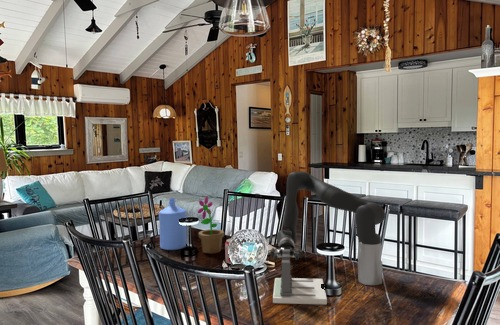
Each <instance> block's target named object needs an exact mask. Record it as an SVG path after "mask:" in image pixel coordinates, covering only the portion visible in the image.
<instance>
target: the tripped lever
mask: <svg viewBox="0 0 500 325" xmlns="http://www.w3.org/2000/svg"><path fill="white" fill-rule="evenodd" d="M282 254H290V249H283V250H282ZM280 278H281V281H282V274H281V276H280ZM292 278H293V276H292V275H291V274H290V281H292Z"/></svg>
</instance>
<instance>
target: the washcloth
mask: <svg viewBox="0 0 500 325" xmlns="http://www.w3.org/2000/svg"><path fill="white" fill-rule="evenodd" d="M267 245H268V255H267V256H269V255H270V256H271V249H272V248H274V249H275V250H278V248H277V247H274V246H272V244H267Z"/></svg>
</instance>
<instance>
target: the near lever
mask: <svg viewBox="0 0 500 325" xmlns="http://www.w3.org/2000/svg"><path fill="white" fill-rule="evenodd" d="M281 275H282V289H281V290H280V295H283V296H292V289H290V275H291V259H290V260H282V259H281Z"/></svg>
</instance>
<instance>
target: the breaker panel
mask: <svg viewBox="0 0 500 325" xmlns="http://www.w3.org/2000/svg"><path fill="white" fill-rule="evenodd" d="M281 282H282V281H281V277H275V278H274V283H273V293H272V304H289V305H290V304H291V305H294V304H296V305H297V304H301V305H327V304H328V298H327V294H326V290H324V289H325V288H324V289H322V288H321V284H324V280H323V278H307V277H306V278H300V277H299V278H298V277H296V278H295V277H292V281H290V282H292V288H290V289H292V296H283V295H280V290H281V289H282V288H281Z"/></svg>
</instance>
